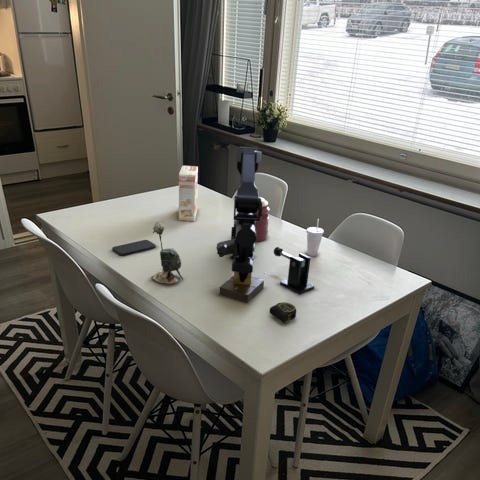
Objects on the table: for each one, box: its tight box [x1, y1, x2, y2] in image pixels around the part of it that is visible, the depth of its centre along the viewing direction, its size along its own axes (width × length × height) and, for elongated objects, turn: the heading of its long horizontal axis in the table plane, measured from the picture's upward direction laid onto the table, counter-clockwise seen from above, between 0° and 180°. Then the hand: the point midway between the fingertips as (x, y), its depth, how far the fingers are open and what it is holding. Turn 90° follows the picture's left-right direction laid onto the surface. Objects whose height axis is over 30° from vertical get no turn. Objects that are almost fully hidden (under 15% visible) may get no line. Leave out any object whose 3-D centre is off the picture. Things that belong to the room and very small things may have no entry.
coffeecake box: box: [178, 165, 199, 222], centre depth 218 cm, size 15×7×20 cm, turn 179°
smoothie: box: [305, 218, 325, 257], centre depth 189 cm, size 6×6×14 cm
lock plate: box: [218, 275, 265, 304], centre depth 163 cm, size 12×10×3 cm
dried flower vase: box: [150, 222, 184, 285], centre depth 162 cm, size 8×11×20 cm
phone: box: [111, 239, 157, 256], centre depth 188 cm, size 7×1×15 cm
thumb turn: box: [233, 272, 253, 285], centre depth 161 cm, size 6×2×4 cm, turn 87°
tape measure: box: [269, 301, 297, 324], centre depth 149 cm, size 7×7×4 cm
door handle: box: [273, 246, 306, 267], centre depth 167 cm, size 13×3×3 cm, turn 40°
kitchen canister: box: [236, 196, 271, 243], centre depth 200 cm, size 13×13×18 cm
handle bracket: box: [279, 252, 315, 296], centre depth 166 cm, size 9×7×11 cm
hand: (242, 280), depth 161 cm, fingers closed on thumb turn, 2 cm apart
